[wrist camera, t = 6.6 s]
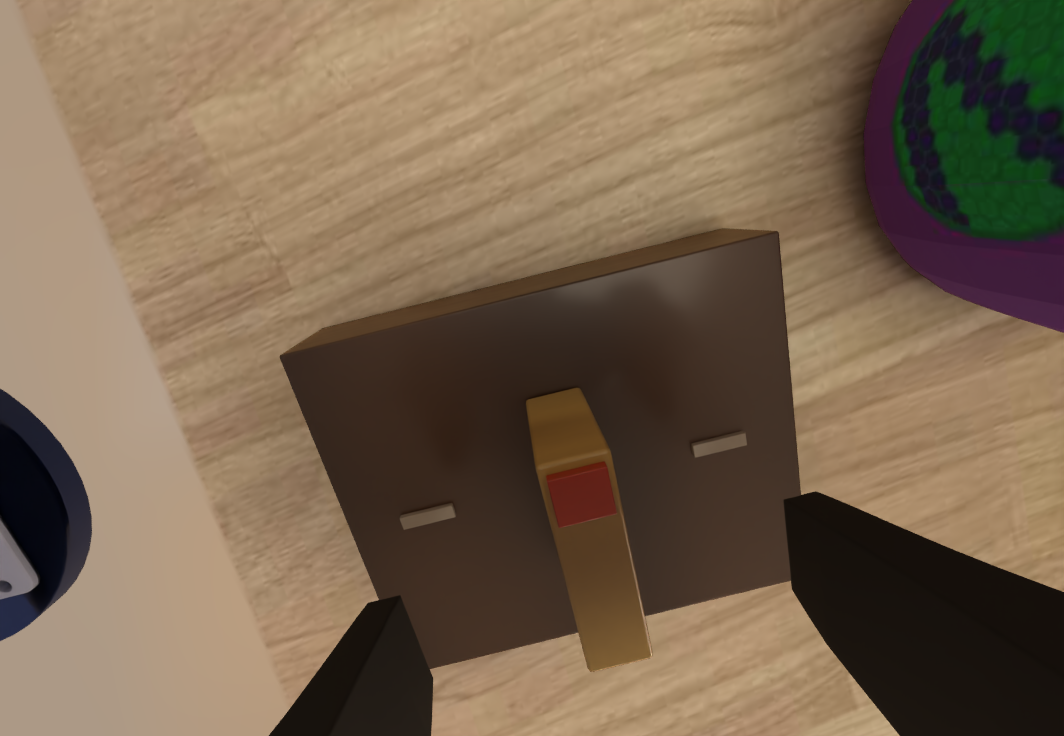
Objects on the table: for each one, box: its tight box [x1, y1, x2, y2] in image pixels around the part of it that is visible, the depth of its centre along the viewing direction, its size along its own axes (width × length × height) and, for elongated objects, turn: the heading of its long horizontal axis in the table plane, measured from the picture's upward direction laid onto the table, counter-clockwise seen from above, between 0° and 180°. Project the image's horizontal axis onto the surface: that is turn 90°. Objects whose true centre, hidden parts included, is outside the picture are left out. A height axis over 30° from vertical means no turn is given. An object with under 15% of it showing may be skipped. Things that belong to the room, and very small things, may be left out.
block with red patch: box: [526, 388, 653, 672], centre depth 11 cm, size 5×1×4 cm, turn 13°
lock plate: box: [280, 229, 801, 669], centre depth 14 cm, size 12×10×3 cm
